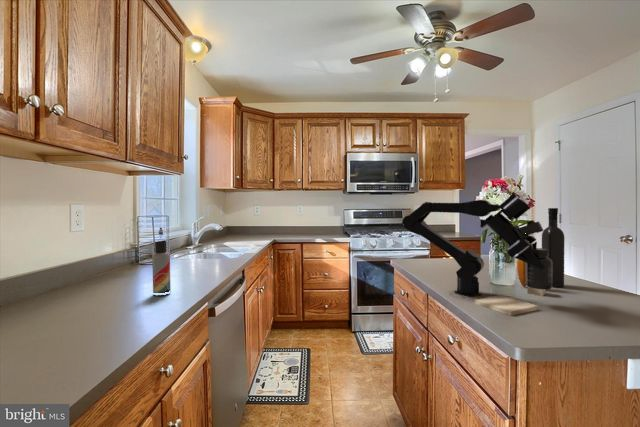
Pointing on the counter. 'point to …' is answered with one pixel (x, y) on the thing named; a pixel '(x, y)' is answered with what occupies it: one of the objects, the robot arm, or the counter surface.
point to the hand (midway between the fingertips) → (544, 266)
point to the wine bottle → (554, 248)
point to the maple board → (506, 305)
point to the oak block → (536, 291)
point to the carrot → (521, 272)
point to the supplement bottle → (540, 271)
